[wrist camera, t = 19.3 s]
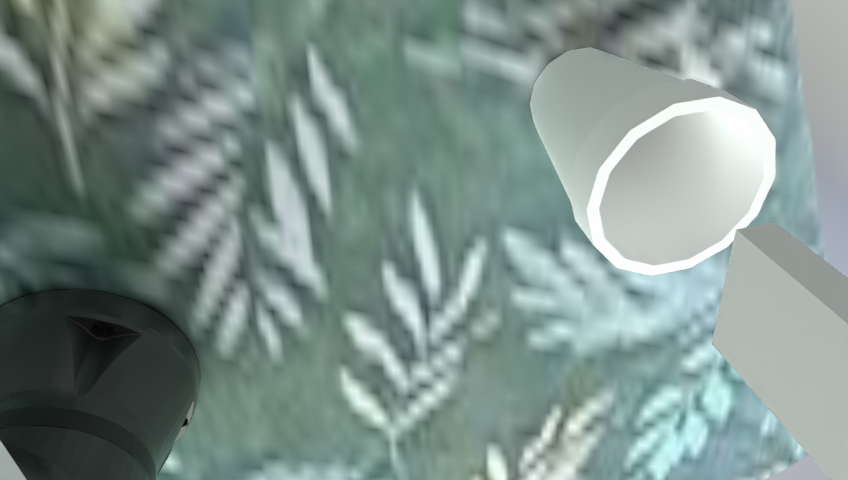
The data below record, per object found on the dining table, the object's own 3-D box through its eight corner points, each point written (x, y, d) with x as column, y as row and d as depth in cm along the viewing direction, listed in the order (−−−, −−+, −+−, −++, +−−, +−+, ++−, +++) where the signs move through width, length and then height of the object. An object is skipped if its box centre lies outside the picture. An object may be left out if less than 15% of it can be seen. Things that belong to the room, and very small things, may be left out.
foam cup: (571, -10, 38) (688, 57, 27) (675, 68, 41) (814, 154, 31) (477, 124, 41) (548, 232, 30) (582, 185, 45) (677, 299, 34)
